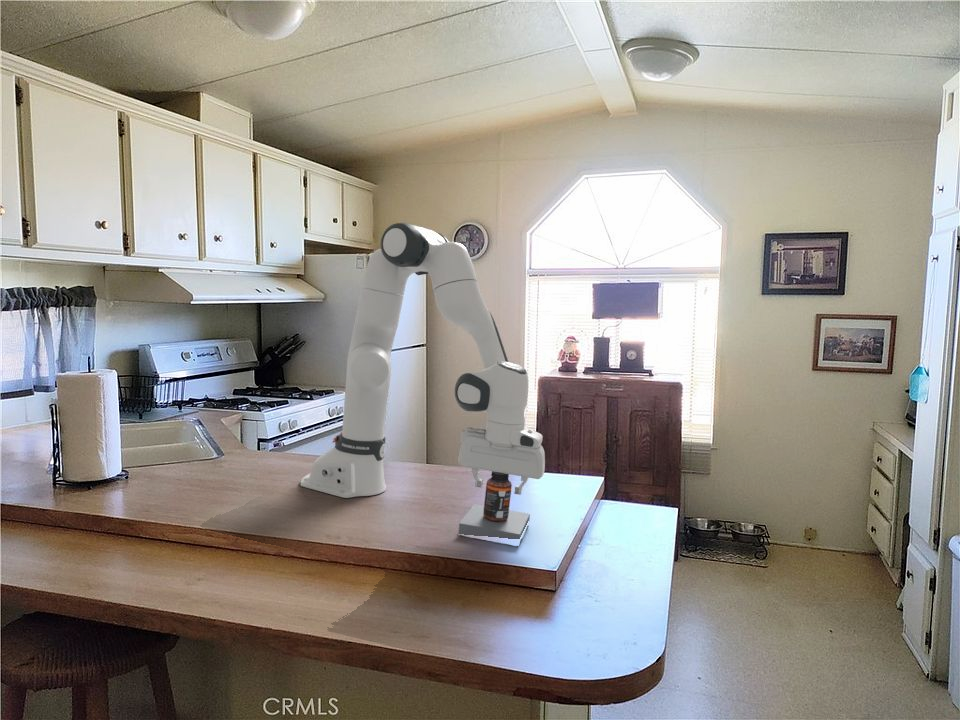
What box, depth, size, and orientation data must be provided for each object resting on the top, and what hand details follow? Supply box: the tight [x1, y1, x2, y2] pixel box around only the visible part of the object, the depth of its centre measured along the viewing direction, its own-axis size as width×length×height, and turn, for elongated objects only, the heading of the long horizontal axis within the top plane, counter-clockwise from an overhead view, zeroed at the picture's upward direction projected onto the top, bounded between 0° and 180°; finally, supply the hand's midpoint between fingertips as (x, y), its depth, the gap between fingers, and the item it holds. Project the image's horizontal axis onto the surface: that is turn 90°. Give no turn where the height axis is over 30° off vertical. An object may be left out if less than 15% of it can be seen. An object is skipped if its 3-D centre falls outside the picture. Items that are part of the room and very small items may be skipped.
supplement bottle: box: [483, 471, 513, 522], centre depth 150 cm, size 6×6×11 cm
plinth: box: [457, 503, 531, 539], centre depth 151 cm, size 14×14×3 cm
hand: (498, 490), depth 150 cm, fingers open, 8 cm apart
